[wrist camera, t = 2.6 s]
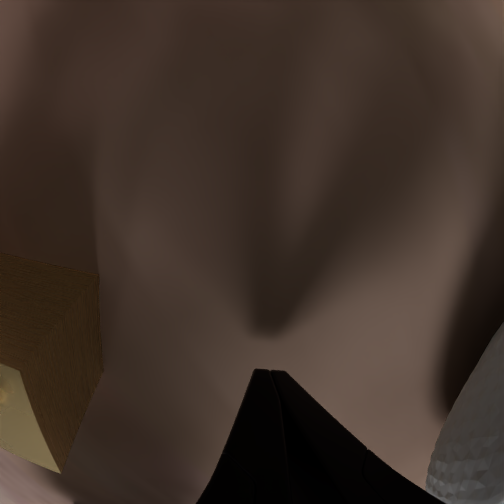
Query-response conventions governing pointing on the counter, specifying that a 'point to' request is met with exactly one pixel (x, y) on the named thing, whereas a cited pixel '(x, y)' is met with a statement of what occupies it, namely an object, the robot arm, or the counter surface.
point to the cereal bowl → (473, 437)
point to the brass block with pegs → (46, 357)
